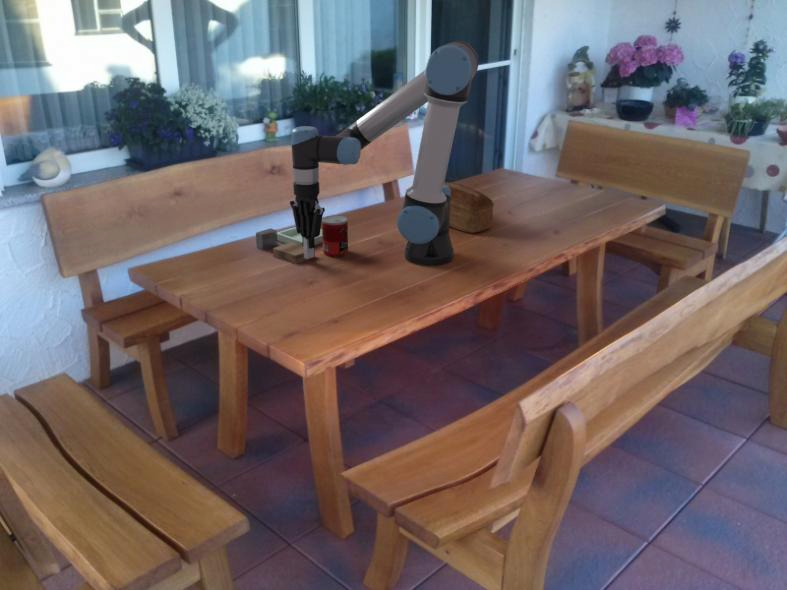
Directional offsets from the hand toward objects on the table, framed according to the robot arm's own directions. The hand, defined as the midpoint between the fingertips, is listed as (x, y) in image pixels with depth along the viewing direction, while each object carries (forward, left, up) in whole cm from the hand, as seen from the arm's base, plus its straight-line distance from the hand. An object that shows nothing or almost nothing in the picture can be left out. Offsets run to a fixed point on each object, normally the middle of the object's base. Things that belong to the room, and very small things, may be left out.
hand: (309, 257), depth 227 cm
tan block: (+7, 0, -2) cm, 7 cm away
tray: (+16, -12, -2) cm, 20 cm away
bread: (-8, -60, -2) cm, 61 cm away
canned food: (0, -11, -2) cm, 11 cm away
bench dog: (+20, 0, -2) cm, 20 cm away
